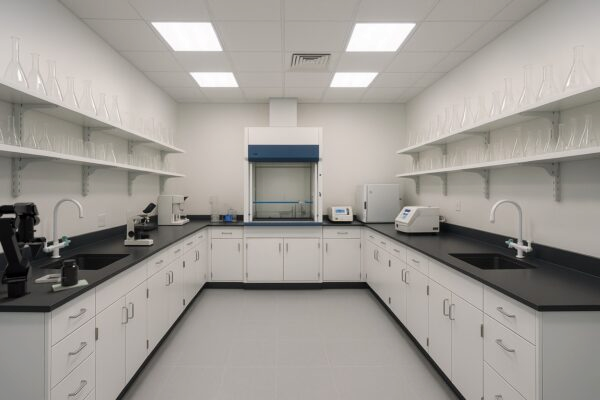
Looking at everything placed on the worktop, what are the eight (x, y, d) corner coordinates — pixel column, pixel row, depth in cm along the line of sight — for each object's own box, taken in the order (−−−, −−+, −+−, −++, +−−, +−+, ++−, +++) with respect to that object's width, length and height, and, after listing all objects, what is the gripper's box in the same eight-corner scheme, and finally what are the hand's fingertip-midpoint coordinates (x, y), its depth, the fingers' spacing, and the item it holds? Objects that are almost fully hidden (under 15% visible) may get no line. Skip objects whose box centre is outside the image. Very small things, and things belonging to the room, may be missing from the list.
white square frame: (58, 281, 148) (58, 278, 148) (35, 283, 146) (35, 280, 146) (70, 276, 158) (70, 273, 158) (49, 277, 156) (49, 274, 156)
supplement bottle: (58, 287, 137) (57, 262, 137) (63, 283, 143) (63, 259, 143) (76, 285, 140) (75, 261, 139) (80, 281, 146) (79, 258, 146)
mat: (54, 291, 133) (54, 290, 133) (52, 286, 141) (52, 285, 140) (88, 284, 143) (88, 283, 143) (84, 280, 150) (84, 279, 150)
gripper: (21, 226, 146) (22, 257, 147) (-12, 231, 128) (-10, 266, 128) (46, 226, 148) (47, 256, 149) (17, 231, 130) (18, 265, 130)
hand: (26, 260), depth 139 cm, fingers open, 9 cm apart
